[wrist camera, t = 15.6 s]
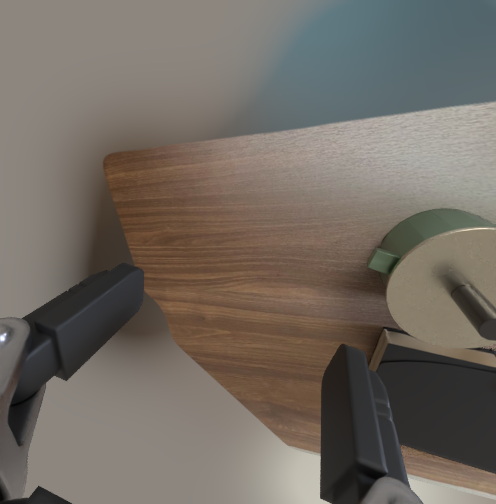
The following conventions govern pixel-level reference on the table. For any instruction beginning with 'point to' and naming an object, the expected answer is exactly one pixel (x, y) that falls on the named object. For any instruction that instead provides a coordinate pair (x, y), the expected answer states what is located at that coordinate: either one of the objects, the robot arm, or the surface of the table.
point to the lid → (447, 289)
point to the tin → (419, 235)
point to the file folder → (440, 397)
